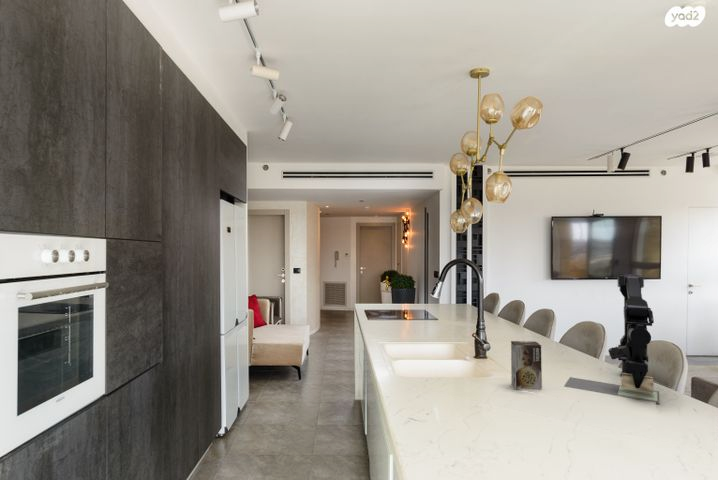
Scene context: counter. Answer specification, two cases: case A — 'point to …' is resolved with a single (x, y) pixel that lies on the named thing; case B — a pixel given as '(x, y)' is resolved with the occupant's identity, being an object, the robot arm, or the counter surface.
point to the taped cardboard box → (629, 384)
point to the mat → (611, 389)
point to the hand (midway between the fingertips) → (637, 386)
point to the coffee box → (526, 365)
